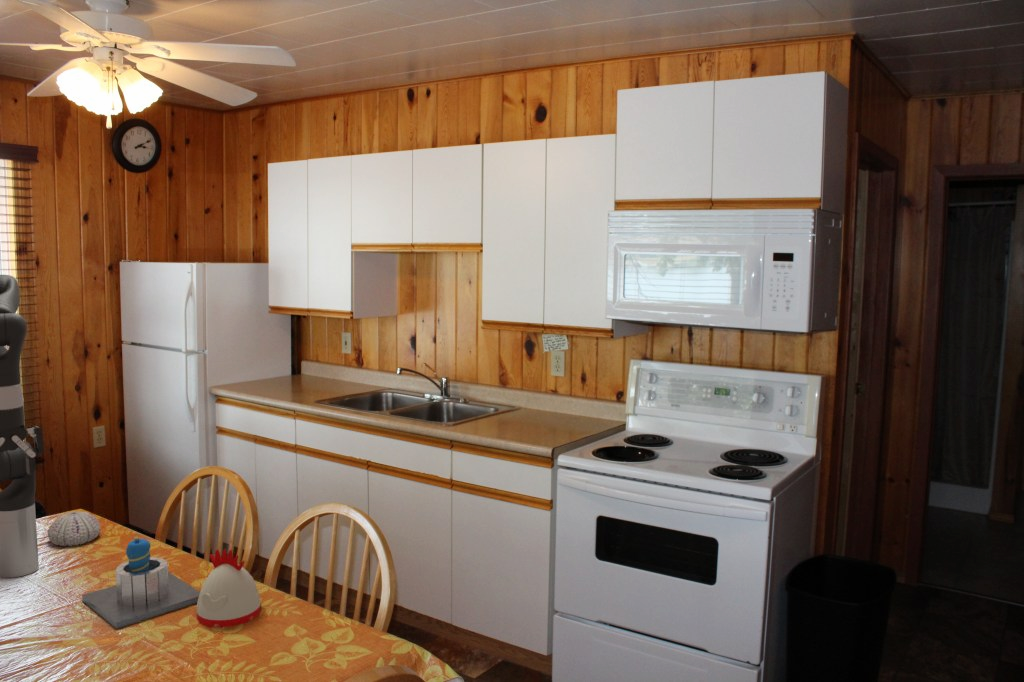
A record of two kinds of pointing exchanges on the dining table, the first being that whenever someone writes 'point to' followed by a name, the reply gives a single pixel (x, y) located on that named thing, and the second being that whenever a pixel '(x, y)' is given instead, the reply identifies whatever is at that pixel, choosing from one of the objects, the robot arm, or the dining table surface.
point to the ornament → (138, 555)
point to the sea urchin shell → (74, 529)
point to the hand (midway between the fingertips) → (8, 477)
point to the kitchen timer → (227, 594)
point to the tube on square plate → (141, 594)
